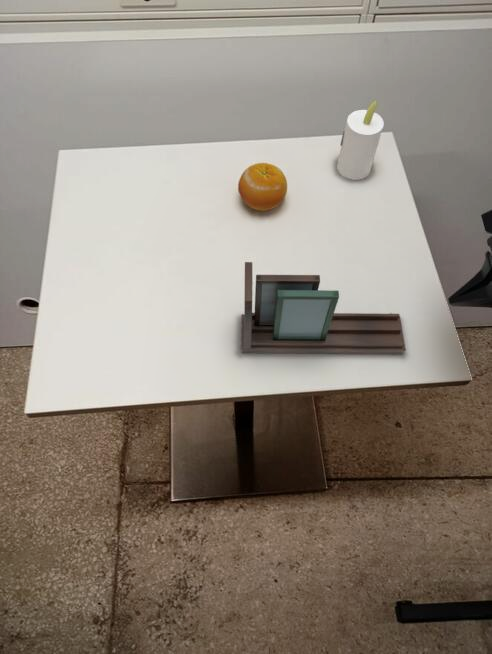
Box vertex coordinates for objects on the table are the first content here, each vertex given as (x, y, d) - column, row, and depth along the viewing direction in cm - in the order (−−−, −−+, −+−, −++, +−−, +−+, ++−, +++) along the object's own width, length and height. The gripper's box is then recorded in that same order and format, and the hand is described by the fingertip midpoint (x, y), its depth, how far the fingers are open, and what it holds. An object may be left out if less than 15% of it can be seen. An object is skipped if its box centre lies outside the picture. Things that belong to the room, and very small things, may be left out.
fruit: (299, 173, 90) (277, 151, 84) (288, 218, 89) (265, 199, 83) (260, 175, 95) (237, 154, 89) (250, 218, 94) (225, 200, 88)
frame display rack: (397, 320, 80) (429, 263, 66) (402, 354, 77) (437, 302, 64) (241, 318, 80) (241, 261, 66) (241, 352, 77) (240, 300, 64)
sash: (324, 335, 77) (338, 290, 65) (325, 341, 76) (339, 296, 65) (272, 335, 77) (277, 289, 65) (272, 340, 76) (277, 296, 65)
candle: (338, 153, 98) (354, 83, 84) (372, 159, 97) (392, 90, 84) (333, 176, 95) (348, 108, 81) (367, 182, 94) (388, 115, 81)
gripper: (534, 156, 57) (409, 220, 66) (586, 297, 48) (433, 346, 58) (565, 204, 64) (447, 255, 73) (615, 335, 55) (473, 373, 65)
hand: (449, 302), depth 67 cm, fingers closed
